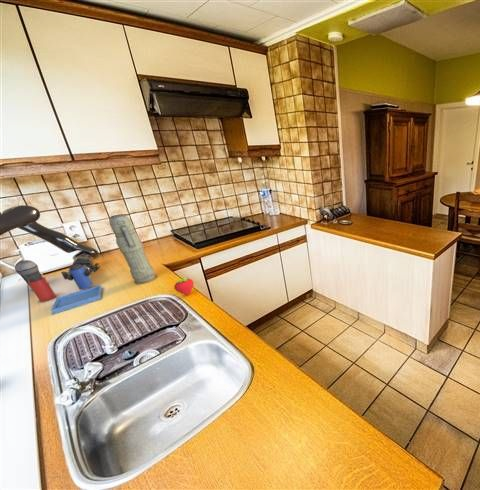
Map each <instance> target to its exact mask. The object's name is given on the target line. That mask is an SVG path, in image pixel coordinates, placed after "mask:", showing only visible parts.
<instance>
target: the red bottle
mask: <svg viewBox="0 0 480 490" xmlns="http://www.w3.org/2000/svg"><path fill="white" fill-rule="evenodd" d="M28 280H29V281H28V284H29V285H30V286H29V285H28V284H27V285H28V286H29V287H30V288H31V290H32V292H33V293H34V295H35V296H36V297H37V299H38V301H39V302H41V303H43V302H49V301H51V300H54V299H56V298H57V295H56V293H55V292H54V290H53V288H52V286H51V285H50V284H49V282H48V281H47V279H46V277H45V276H42V274H41V275H36V276H32V277H30V278H28Z"/></svg>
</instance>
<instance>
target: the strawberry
mask: <svg viewBox="0 0 480 490" xmlns="http://www.w3.org/2000/svg"><path fill="white" fill-rule="evenodd" d="M173 285H174V286H173V288H174V290H176V292H178V293H180V294H182V295H185V296H188V295H190V294H191V292H192V290H193V288H194V281H193V279H192V278H189V277H183V276H181V278H180V279H177V280H176V281H175V284H173Z"/></svg>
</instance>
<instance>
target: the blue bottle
mask: <svg viewBox="0 0 480 490" xmlns="http://www.w3.org/2000/svg"><path fill="white" fill-rule="evenodd" d="M68 272H70V274H71V276H72V278H73V281H74V283H75V285H76V286H77V288H78V289H79V291H82V290H85V289H89V288H92V287H94V283H93V281H92V279H91V277H90V275H89V276H87V275H86V273H85V272H86V270H85V268H84V266H81V264H75V265H72V264H71V265H70V266H68Z"/></svg>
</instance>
